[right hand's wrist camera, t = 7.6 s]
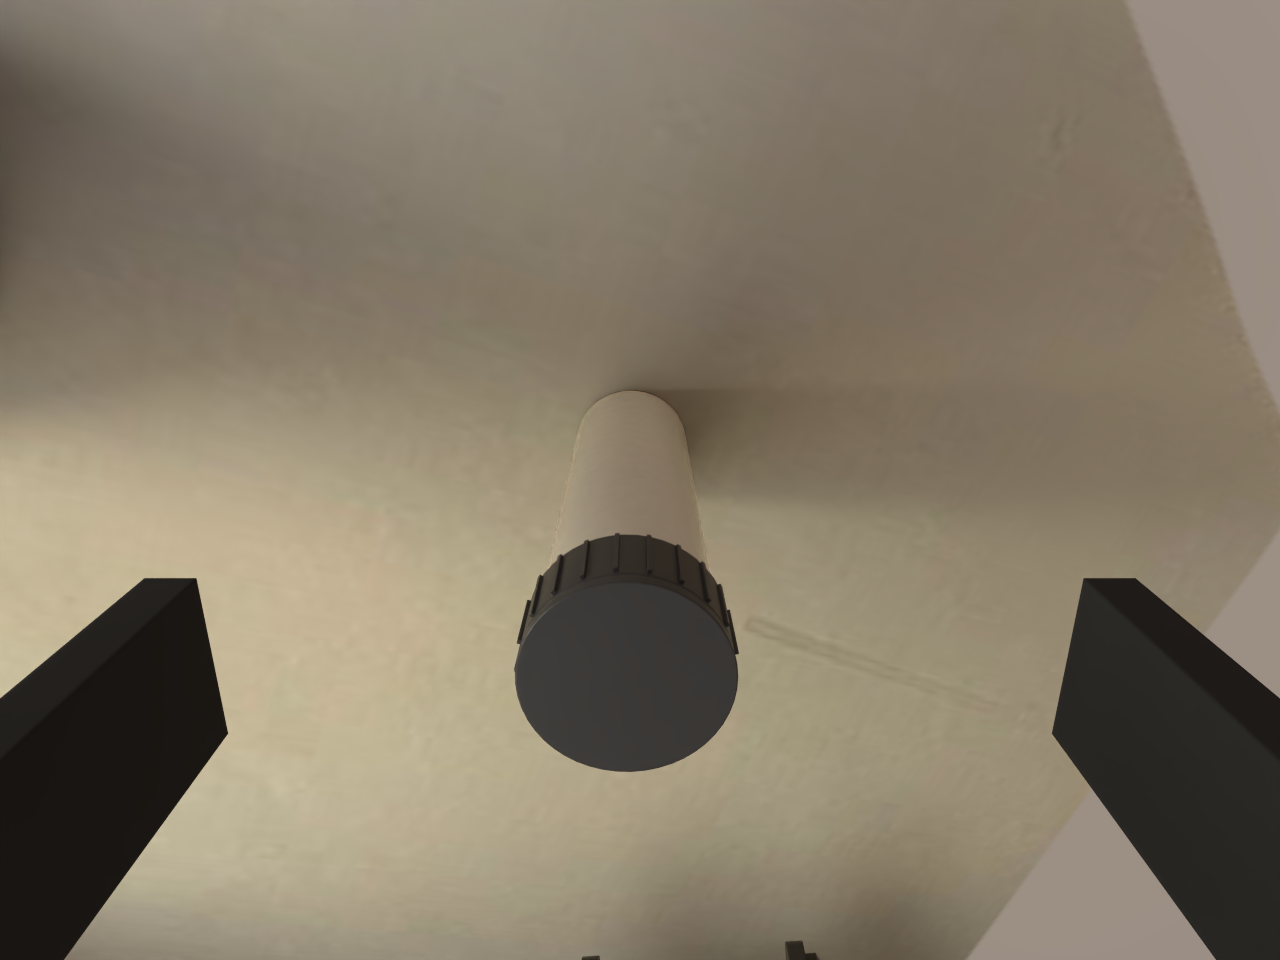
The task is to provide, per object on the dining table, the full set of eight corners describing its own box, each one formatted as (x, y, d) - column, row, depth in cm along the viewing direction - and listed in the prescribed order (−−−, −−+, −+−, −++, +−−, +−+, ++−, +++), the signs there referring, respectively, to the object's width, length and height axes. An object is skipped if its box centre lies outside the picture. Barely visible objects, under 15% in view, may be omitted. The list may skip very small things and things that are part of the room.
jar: (676, 381, 33) (711, 566, 18) (693, 485, 34) (737, 737, 19) (566, 400, 33) (508, 598, 18) (587, 502, 34) (549, 764, 19)
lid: (715, 514, 19) (726, 561, 17) (742, 694, 21) (755, 759, 19) (505, 547, 20) (488, 597, 17) (549, 722, 21) (538, 789, 19)
